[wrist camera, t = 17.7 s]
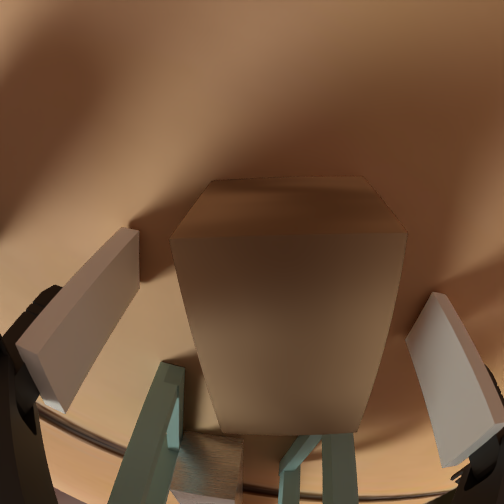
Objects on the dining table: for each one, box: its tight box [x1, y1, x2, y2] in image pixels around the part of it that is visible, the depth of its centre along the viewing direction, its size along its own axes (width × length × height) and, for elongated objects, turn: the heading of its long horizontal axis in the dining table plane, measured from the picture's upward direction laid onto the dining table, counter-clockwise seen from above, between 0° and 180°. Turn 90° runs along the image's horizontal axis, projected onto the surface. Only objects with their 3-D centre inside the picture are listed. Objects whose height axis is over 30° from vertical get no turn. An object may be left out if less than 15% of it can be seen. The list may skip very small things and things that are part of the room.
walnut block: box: [169, 176, 408, 435], centre depth 10 cm, size 5×8×4 cm, turn 5°
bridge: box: [107, 362, 358, 504], centre depth 13 cm, size 10×10×10 cm
